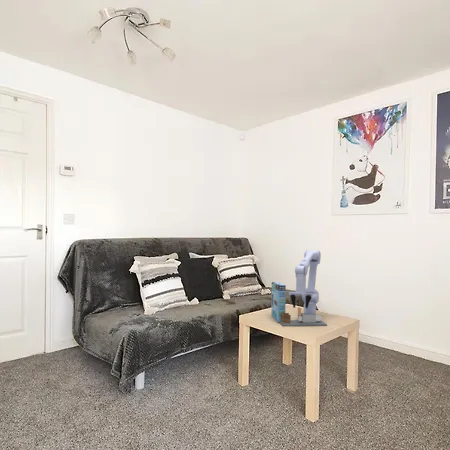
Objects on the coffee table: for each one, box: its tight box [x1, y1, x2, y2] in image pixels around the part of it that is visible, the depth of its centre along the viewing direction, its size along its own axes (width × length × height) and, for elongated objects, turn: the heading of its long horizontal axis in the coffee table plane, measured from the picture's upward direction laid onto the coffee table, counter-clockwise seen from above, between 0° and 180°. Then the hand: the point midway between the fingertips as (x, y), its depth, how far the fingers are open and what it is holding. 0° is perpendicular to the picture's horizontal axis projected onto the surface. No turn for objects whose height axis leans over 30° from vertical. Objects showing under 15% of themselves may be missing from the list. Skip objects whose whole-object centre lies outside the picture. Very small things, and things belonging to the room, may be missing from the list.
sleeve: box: [301, 312, 317, 323], centre depth 202 cm, size 5×8×5 cm, turn 93°
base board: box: [279, 319, 328, 327], centre depth 202 cm, size 10×27×1 cm, turn 93°
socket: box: [281, 312, 292, 323], centre depth 202 cm, size 5×5×5 cm
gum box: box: [270, 281, 287, 324], centre depth 214 cm, size 20×5×23 cm, turn 4°
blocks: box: [297, 306, 323, 321], centre depth 203 cm, size 3×14×8 cm, turn 93°
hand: (300, 307), depth 202 cm, fingers open, 7 cm apart
